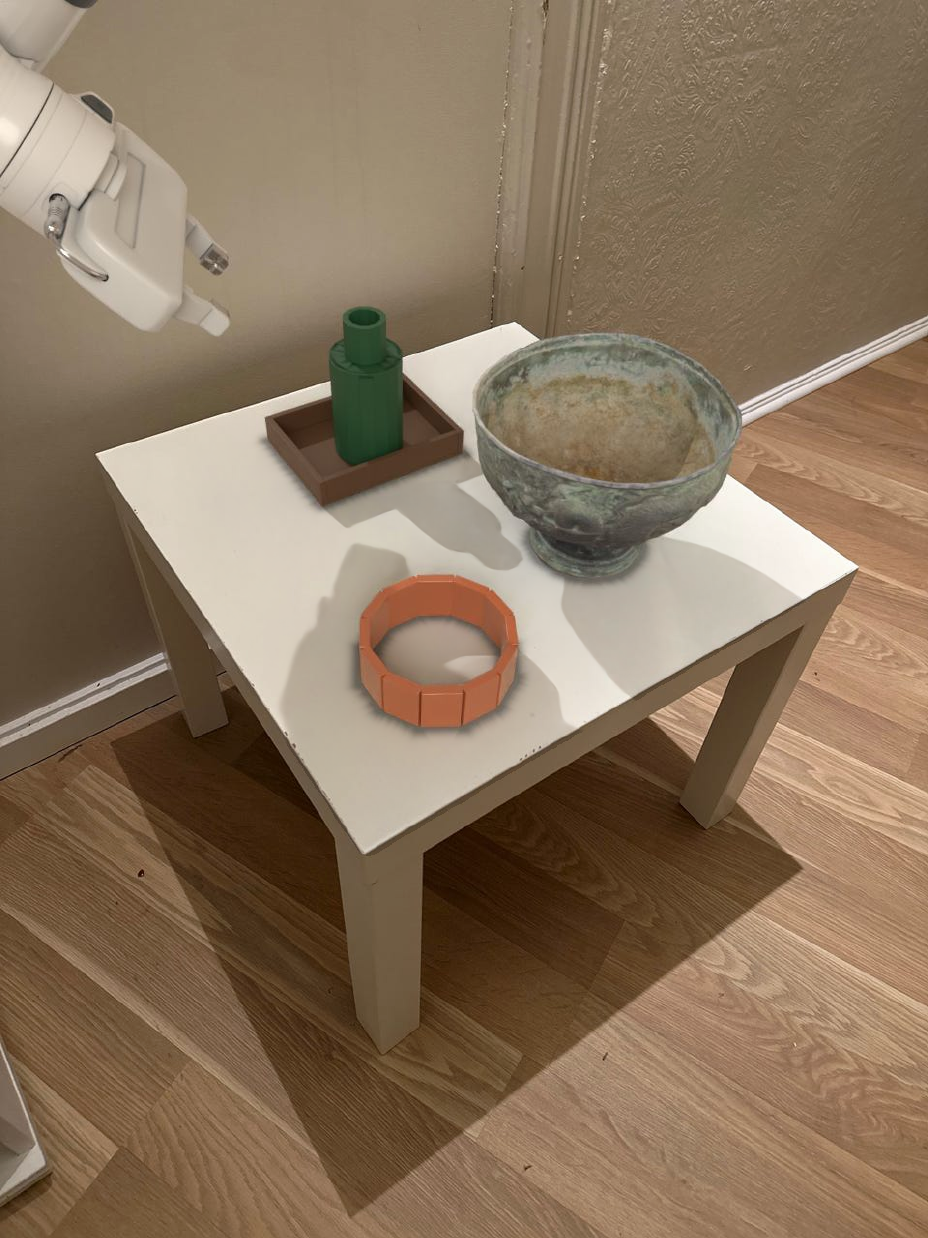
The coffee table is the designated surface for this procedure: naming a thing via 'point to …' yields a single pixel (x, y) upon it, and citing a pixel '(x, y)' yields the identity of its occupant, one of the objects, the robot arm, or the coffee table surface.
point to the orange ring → (437, 600)
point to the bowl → (602, 444)
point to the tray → (330, 478)
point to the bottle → (366, 388)
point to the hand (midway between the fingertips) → (224, 294)
